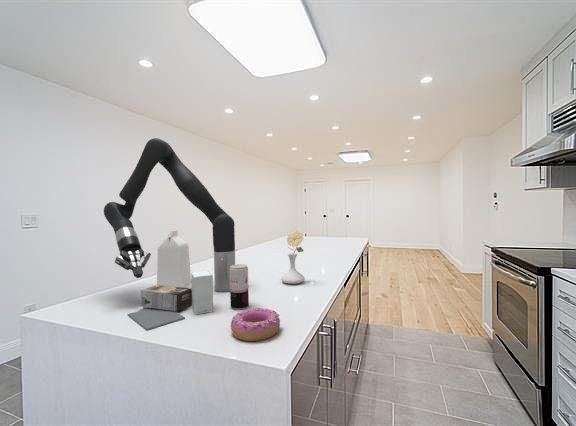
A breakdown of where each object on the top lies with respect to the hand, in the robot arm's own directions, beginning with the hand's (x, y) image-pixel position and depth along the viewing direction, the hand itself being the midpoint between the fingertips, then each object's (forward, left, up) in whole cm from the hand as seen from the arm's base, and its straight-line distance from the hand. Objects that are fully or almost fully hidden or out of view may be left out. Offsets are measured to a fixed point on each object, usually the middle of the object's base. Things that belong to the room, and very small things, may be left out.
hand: (139, 276), depth 105 cm
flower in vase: (-58, -29, -12) cm, 66 cm away
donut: (-45, +23, -12) cm, 52 cm away
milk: (-1, -30, -12) cm, 32 cm away
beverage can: (-37, +2, -12) cm, 39 cm away
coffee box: (-2, -2, -8) cm, 8 cm away
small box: (-24, +4, -12) cm, 27 cm away
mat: (-10, +10, -12) cm, 18 cm away
